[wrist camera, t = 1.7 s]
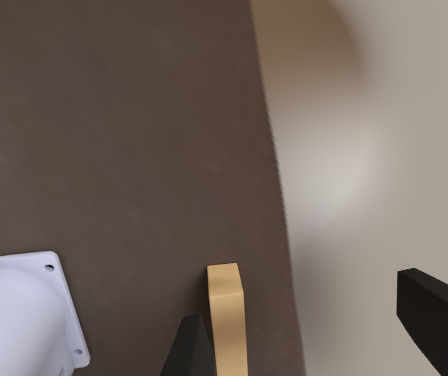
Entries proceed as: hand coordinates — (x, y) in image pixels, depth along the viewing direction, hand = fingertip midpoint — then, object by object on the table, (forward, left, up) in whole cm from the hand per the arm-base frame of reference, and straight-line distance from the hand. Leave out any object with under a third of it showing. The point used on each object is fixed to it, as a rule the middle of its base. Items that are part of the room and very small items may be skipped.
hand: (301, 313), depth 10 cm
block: (-7, +2, -8) cm, 11 cm away
